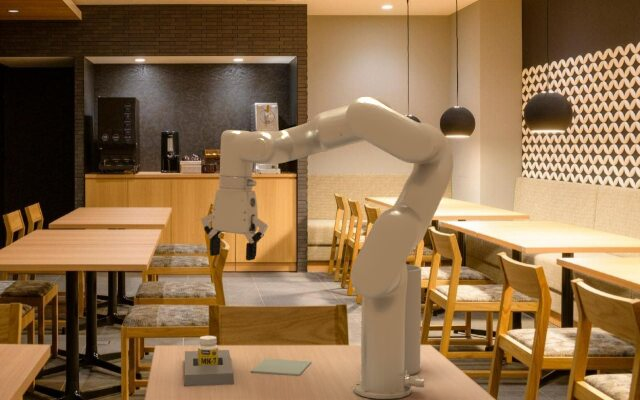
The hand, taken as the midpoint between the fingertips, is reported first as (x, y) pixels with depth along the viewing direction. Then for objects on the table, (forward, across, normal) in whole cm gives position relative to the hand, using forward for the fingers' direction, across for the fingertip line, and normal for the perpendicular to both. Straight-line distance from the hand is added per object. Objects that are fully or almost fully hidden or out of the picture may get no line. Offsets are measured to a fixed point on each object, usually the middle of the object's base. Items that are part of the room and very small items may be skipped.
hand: (232, 257), depth 196 cm
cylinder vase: (+27, -33, -22) cm, 48 cm away
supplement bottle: (+29, +6, -1) cm, 29 cm away
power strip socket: (+28, +6, -1) cm, 29 cm away
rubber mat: (+28, -8, -12) cm, 31 cm away
